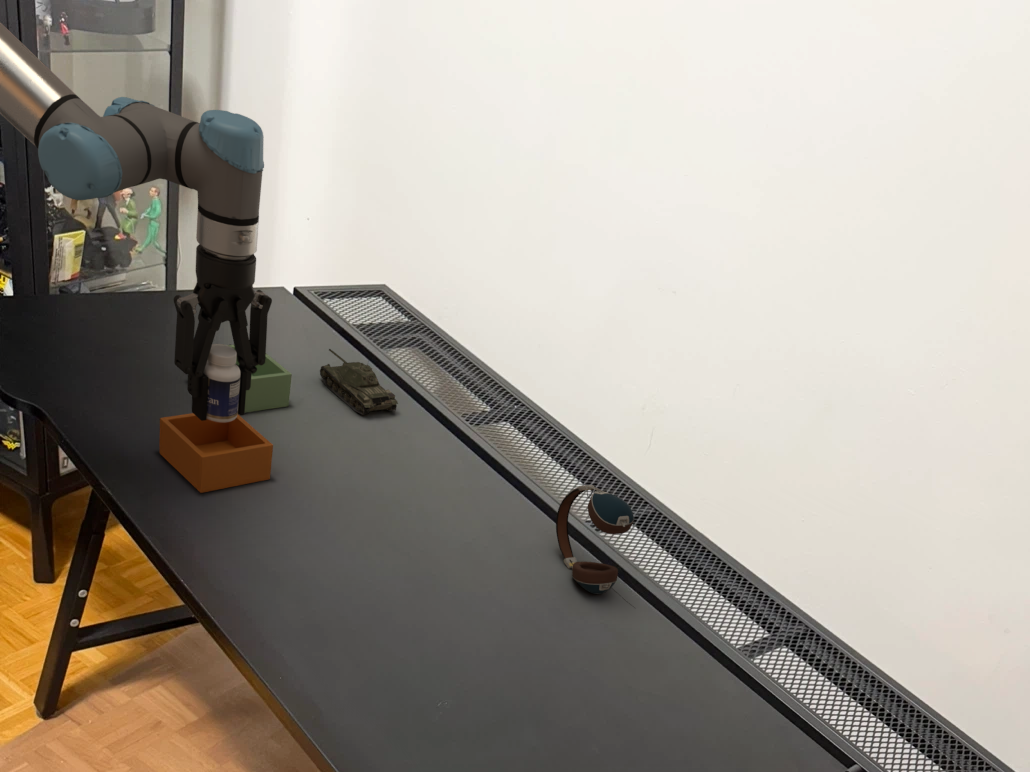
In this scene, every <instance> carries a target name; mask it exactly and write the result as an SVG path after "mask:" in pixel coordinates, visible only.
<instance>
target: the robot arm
mask: <svg viewBox="0 0 1030 772" xmlns="http://www.w3.org/2000/svg"><path fill="white" fill-rule="evenodd" d="M69 87H70V86H68V85H66V84H65V83H64V81H62V80H61V78H59V77H58V76H57V75H56V73H54V72H53V71H52V70H51V69H50V68H49V67H48V66H47V65H46V64H44V63H43V62H42V61H41V60H40V59H39V58H38V57H37V56H36V55H35V54H34V53H33V52H32V51H31V50H30V49H29V48H28V47H27V46H26V45H25V44H24V43H22V42H21V40H19V39H18V37H16V36H15V35H14V33H12V32H11V31H10V30H9V29H8V28H7V27H6V26H5V25H4V24H3V23H2V22H0V115H1V117H3V118H4V119H5V120H6V121H7V122H8V123H10V125H12V126H13V127H14V128H15V129H16V130H17V131H18V132H19V133H20V134H21V135H22V136H23V137H25V138H26V139H27V140H28V141H29V142H30V143H31V144H32V145H33V146H34V147H35V148H37V154H38V155H37V156H38V160H39V165H40V169H41V170H42V171H43V172H44V174H45V176H46V178H47V181H48V183H49V184H50V185H51V187H53V189H55V190H56V191H57V192H59V194H61V195H62V196H64V197H66V198H69V199H71V200H74V201H75V200H76V201H88V200H89V201H90V200H93V199H103V198H107V197H109V196H111V195H113V194H114V193H117V192H120V191H124V190H126V189H129V188H133V187H137V186H140V185H144V184H147V183H151V182H153V181H156V180H165V181H168V182H171V183H174V184H176V185H179V186H182V187H184V188H187V189H190V190H195V191H196V192H197V217H196V236H195V239H196V242H197V243H198V244H197V246H196V249H195V276H196V284H195V286H194V288H193V290H192V293H190V294H188V295H185V296H183V297H182V295H180V294H176V295H174V297H173V304H174V307H175V311H176V325H175V329H176V330H175V340H174V341H175V344H174V345H175V346H174V366H176V368H178V369H179V370H180V371H181V372H182V373H184V374H185V375H187V392H188V393H189V395H190V396H191V413H193V414H195V415H196V416H197V417H198V418H199V419H200V420H201V421H205V420H207V397H208V377H207V376H206V375H205V374H204V370H205V366H206V363H207V360H208V356H209V353H210V350H211V346H212V344H214V343H213V342H214V341H215V336H216V333H217V332H218V331H219V330H220V328H221V324H222V323H225V322H229V326H230V331H231V337H232V340H233V345H234V346H235V350H236V353H237V361H238V363H239V365H238V364H236V365H237V366H238V367H239V369H240V389H239V403H238V415H239V416H243V415H245V413H246V412H245V399H246V390H249V389H250V387H251V375H252V374H253V373H255V372H256V371H257V368H256V367H255V366H257V365H263V364H264V363H265V358H266V354H267V338H268V337H267V333H268V314H269V312H270V308H271V305H272V304H273V299H272V298H271V297H270V296H269V295H268V294H266V293H265V292H263V291H262V290H261V289H257V290H255V288H254V284H255V282H256V271H257V257H256V255H255V254H256V253H257V251H258V239H259V238H258V237H259V225H260V224H259V223H260V220H259V219H260V205H261V194H262V181H263V172H264V169H265V162H264V131H263V129H262V127H261V126H260V125H259V124H258V122H256V121H255V120H253V119H252V118H250V117H248V116H246V115H244V114H241V113H235V112H231V111H228V110H222V109H209V110H206V111H204V112H203V113H202V114H201V116H200V121H196V120H192V119H190V118H187V117H184V116H182V115H179V114H176V113H174V112H171V111H168V110H166V109H164V108H162V107H158V106H156V105H155V104H152V103H150V102H149V101H145V100H137V99H134V98H131V97H128V96H120V97H119V96H118V97H116V98H114V99H112V101H111V104H110V105H108V106H107V107H106V108H105V110H104V111H103V112H104V113H103V115H102V116H100V115H99V114H98V113H97V112H96V111H94V109H92V108H91V107H90V106H89V105H88V104H87V103H86V102H85V101H84V100H83V99H81V97H79V96H78V95H77V94H76V93H75V92H74V91H73V90H72V89H71V88H69ZM197 305H198V306H199V312H198V315H197ZM249 307H250V308H249ZM248 308H249V309H250V310H249V324H248V317H247V312H246V311H247V309H248ZM195 315H197V321H198V323H197V326H196V319H195ZM248 326H249V333H248ZM195 328H196V330H195Z"/></svg>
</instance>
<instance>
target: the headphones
mask: <svg viewBox="0 0 1030 772" xmlns="http://www.w3.org/2000/svg"><path fill="white" fill-rule="evenodd" d="M591 490H592V491H591ZM585 491H586V496H587V498H588V499H589V501H588V504H587V513H588V516H589V518H590V521H591V522H592V524H593V525H594V527H595V528H597V530H599V531H601V532H602V533H605V534H608V535H622V534H625V533H627V532H629V531H630V530H631V528H632V526H633V524H634V522H635V516H634V512H633V510H632V508H631V506H630V504H628V503H627V502H626V501H625V500H623V499H622V498H620V497H619V496H617V495H615V494H613V493H610V492H608V491H603V490H602V489H600V488H598V487H595V485H593V484H585V485H584V484H583V485H578V486H577V487H574V488H573V489H572V490H570V491H569V492H568V493H567V494H565V496H564V498H563V499H562V501H561V502H560V504H559V506H558V508H557V512H556V517H555V529H556V530H555V532H556V540H557V544H558V547H559V551H560V552H561V555H562V557H563V563H564V564H565V565H566V567H567V569H572V570H571V576H572V578H573V579H574V580H575V581H576V583H577V584H578V585H579V586H580V587H582V589H584V590H585V591H587V592H588V593H591V594H594V595H601V594H604V593H606V592H607V591H609V590H610V589H612V590H613V591H614V592H615V593H616V594H618V591H616V590H615V589H614V588H613V586H614V585H615V584H616V582H617V581H618V577H619V569H618V568H617V567H616V566H614V565H610V564H607V563H601V562H595V561H588V560H587V561H586V560H585V561H577V557H575V556H574V553H573V549H572V545H571V541H570V535H569V514H570V511H571V508H572V506H573V504H574V502H575V500H576V499H577V498H578V497H579V496H580V495H581V494H582V493H584V492H585ZM588 491H591V493H590V494H589V493H588ZM620 597H621V598H622V599H623V600H624V601H625V602H626V603H628V604H629V605H630V606H632V607H633V608H634V609H637V608H636V607H635V606H634V605H632V604H631V603H630V602H628V601H627V600H626V599H624V597H623V596H622V595H620Z"/></svg>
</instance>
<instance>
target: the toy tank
mask: <svg viewBox="0 0 1030 772" xmlns="http://www.w3.org/2000/svg"><path fill="white" fill-rule="evenodd" d="M328 351H329V352H330V353H331V354H333V356H335V357H337V358H338V359H339V360H340V361H341V362H342V365H337V366H335V365H334V366H331V364H330V363H327V364H326V365H325V364H324V365H322V366H320V369H319V376H320V377H321V379H322V381H323V383H324V385H325V386H326V388H327V389H329V390H330V391H331V392H332V393H333V394H335V396H336V397H338V398H339V399H340V400H342V402H344V403H345V404H346V405H347V406H349V407H350V408H351V409H352V410H353V411H354V412H356V413H357V414H360V415H362V416H364V415H368V414H369V413H370V412H372V411H373V412H374V411H380V410H381V411H382V410H386V411H388V412H392V411H397V407H398V406H397V405H399V402H398V400H397V399H396V395H395V393H393V392H392V391H391V390H390V389H385V388H384V387H383V386H382V385H381V384H380V381H379V380H378V377H377V374H376V372H375V371H374V370H373V368H372V367H371V366H370V365H369V364H364V363H363V362H359V361H356V362H355V361H353V362H352V361H351V362H347V361H346V360H345V359H344V358H342V357H341V356H340V354H339V355H338V354H337V353H336V352H335V351H334V350H333V349H331V348H328ZM370 355H371V353H370ZM369 360H370V359H369ZM369 360H368V362H369Z"/></svg>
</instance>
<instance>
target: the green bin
mask: <svg viewBox="0 0 1030 772" xmlns="http://www.w3.org/2000/svg"><path fill="white" fill-rule="evenodd" d="M226 345H227V344H226ZM227 346H230V347H232V348H233V349H235V346H234V344H228V345H227ZM235 364H238V365H239V363H238V361H237V357H236V363H235ZM255 367H256V368H257V371H256V372H255V373H253V374H252V375H251V387H250V389H249V390H246V399H245V413H252V412H258V411H265V410H271V409H278V408H285V407H289V404H290V397H291V396H290V395H291V385H292V375H293V373H291V372H290V371H289V370H287V369H286V368H285V367H284V366H282V365H281V364H280V363H279V362H278V361H276V360H275V359H274V358H273V357H271V356H270V355H269V354H267V353H266V358H265V363H264V364H263V365H257V366H255Z"/></svg>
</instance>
